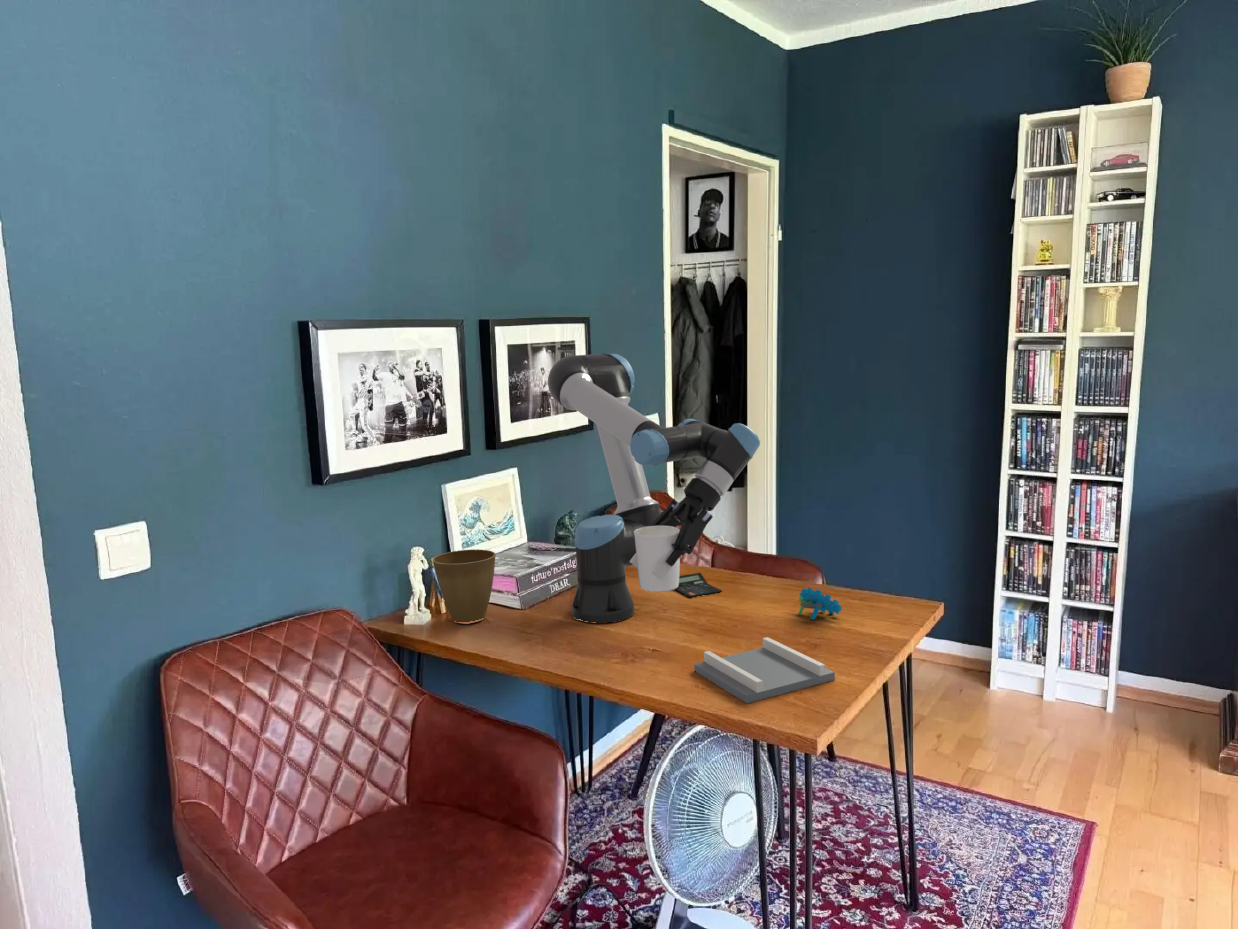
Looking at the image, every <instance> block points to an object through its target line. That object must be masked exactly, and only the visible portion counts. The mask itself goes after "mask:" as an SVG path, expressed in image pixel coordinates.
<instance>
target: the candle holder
mask: <svg viewBox="0 0 1238 929" xmlns="http://www.w3.org/2000/svg"><path fill="white" fill-rule="evenodd" d="M679 531H680V528H679V527H678V526H676V527H673V526H647V527H642V528H638V529H636V530H635V531H634V537H635V547H636V557H637V567H638V569H637V576H638V584H639V587H640V589H641V590H644V591H647V592H652V593H653V592H654V593H656V592H657V593H659V592H660V593H661V592H668V591H669V592H670V591H674V590H675V589H676V588H677V587H678V586H679V576H680V567H681V566H680V563H681V560H680V558H681V556H680V557H679V559H678V560H677V561H676V562H675V564H674V565H673V566H672V567H671V569H670V570H669V571H668V573H667V574H666V576H665V577H664V578H663V580H660V579H659V578H658V577H657V576H656V575H654V574H653V573H652V571H653V569H654V568H655V567H656V565H657V564H658V563H659V561H660V560H661V559H662V557H663V556H664V555H665V553H666V552H667V551H668V550H669V549H670V547H672V545H673V544H674V543H675V542H676V539H677V537H678V535H679ZM672 548H673V549H675V548H674V547H672Z"/></svg>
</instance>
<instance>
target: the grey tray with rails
mask: <svg viewBox="0 0 1238 929" xmlns="http://www.w3.org/2000/svg"><path fill="white" fill-rule="evenodd" d="M703 660H704V661H702V662H696V663H694V668H693V669H694V672H695V671H696V672H695V673H696V674H698V675H700V676H701V675H702V677H703V678H704V679H706V678H707V679H706V680H708V681H710V682H711V681H712V682H711V683H713V682H714V683H715V686H718V687H719V688H721V689H722V688H723V690H724V691H726V692H727V693H729V694H730V695H732V696H734V697H735V698H737V699H739V700H740V701H741V702H744V703H745V704H749V703H750V704H751V703H754V702H757V701H761V700H765V699H769V698H772V697H776V696H780V695H783V694H787V693H790V692H795V691H798V690H802V689H807V688H809V687H814V686H817V685H821V684H824V683H829V682H833V681H835V679H836V678H835V677H836V676H835V675H836V673H835V671H833V670H830V669H829V668H827V667H826V664H825V663H822V662H820V661H818V660H817V659H814V658H812V657H810V656H808V655H806V654H803V653H801V652H800V651H797V650H795V649H793V648H791V647H789V646H787V645H784V644H783V643H781V642H778V641H776V640H775V639H772V638H770V637H767V636H766V637H762V647H760V648H755V649H751V650H747V651H743V652H738V653H735V654H731V655H727V656H723V657H722V656H721V657H720V655H718V654H716V653H713V652H712V651H710V650H707V651H704V652H703ZM714 683H713V684H714Z"/></svg>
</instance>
